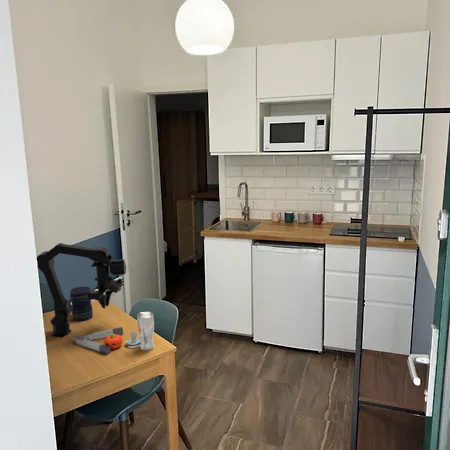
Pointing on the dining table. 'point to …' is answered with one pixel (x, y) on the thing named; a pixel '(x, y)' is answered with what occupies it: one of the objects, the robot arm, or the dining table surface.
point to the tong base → (92, 345)
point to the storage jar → (81, 304)
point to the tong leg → (102, 334)
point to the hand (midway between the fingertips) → (105, 307)
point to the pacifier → (133, 340)
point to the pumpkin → (113, 341)
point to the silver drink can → (146, 330)
